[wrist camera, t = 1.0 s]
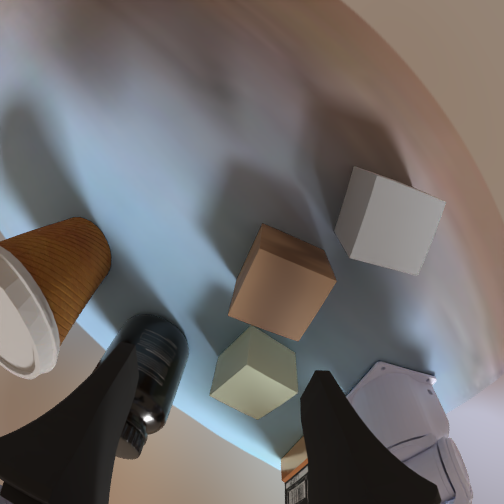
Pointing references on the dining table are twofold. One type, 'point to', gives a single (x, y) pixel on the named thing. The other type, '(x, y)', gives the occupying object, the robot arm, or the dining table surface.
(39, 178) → the dining table surface
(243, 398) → the sage-green block
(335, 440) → the robot arm
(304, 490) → the whiskey bottle
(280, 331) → the walnut block
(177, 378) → the supplement bottle
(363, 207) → the light grey block
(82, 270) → the disposable coffee cup
